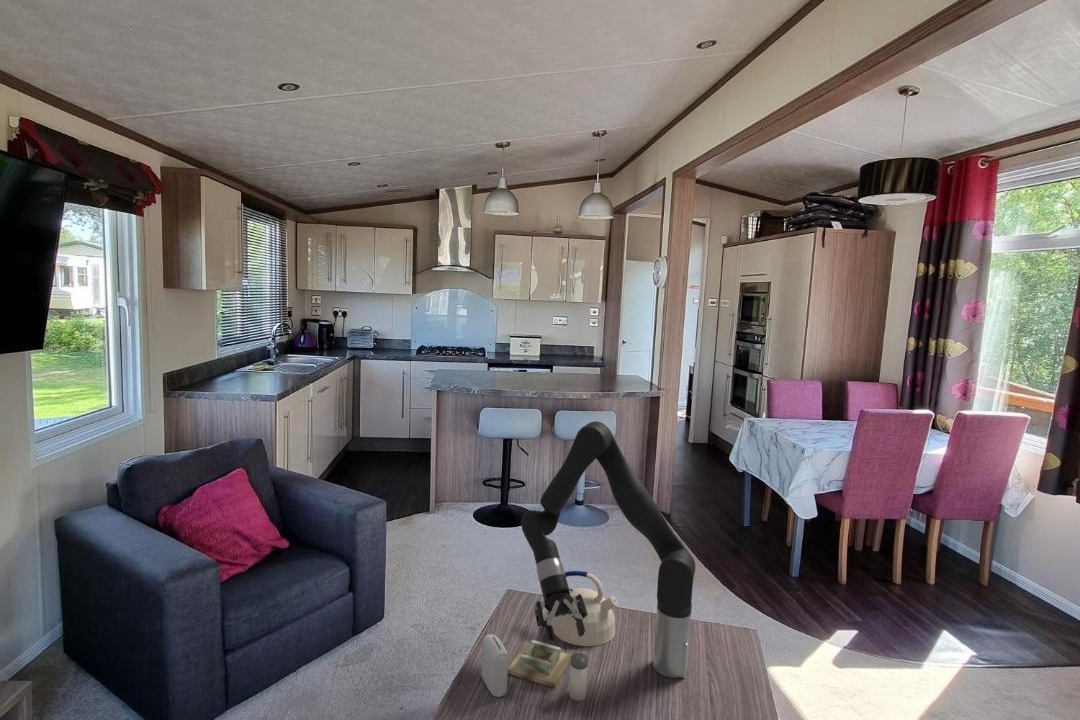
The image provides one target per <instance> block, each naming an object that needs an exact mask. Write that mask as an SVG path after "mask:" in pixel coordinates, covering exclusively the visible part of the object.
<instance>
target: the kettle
mask: <svg viewBox="0 0 1080 720" xmlns="http://www.w3.org/2000/svg"><path fill="white" fill-rule="evenodd" d="M564 572H565V576H566V578H567V577H584V578H587V579H589V580H591V581H592V583H594V584H595V586H596V590H597V591H595V589H591V588H587V587H586V588H585V587H583V588H582V587H579V588H574V589H572V588H569V592H570V595H571V596H572V597H574V596H577V595H579V594H581V595H582V598H583V601H584V604H585V607H586V610H587V613H588V615H587V616H586V617H585V618H583V624H584V628H585V633H584V635H583V636H581V637H579V635H578V631H577V627H576V621H575V620H574V619H573V618H572V617H570V616H569V615H568V614H566V615H564V616H562V615H560V616H558V617H555V616H554V618H553V620H552V622H551V626H552V627H553V631H554V636H555V637H557V639H560V640H561V641H563V642H565V643H568V644H570V645H574V646H578V647H597V646H601V645H604V644H606V643H607V642H610V641H611V640H612V639H613V638H614V636H615V634H616V623H615V621H616V619H615V614H614V611H613V609H614V608H616V607H617V606H618V600H617V598H616V597H615V596H614V595H610V596H609V597H608V598H605V597H604V587H603V584H602V583H601V581H600V579H599V578H597V576H596V575H594V574H593V573H590V572H588V571H582V570H569V571H564ZM572 606H573V607H574V608H576V609H577V612H578V613H579V611H578V608H577V605H576V604H575V603H574V602H572ZM570 611H571V610H570Z"/></svg>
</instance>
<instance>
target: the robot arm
mask: <svg viewBox="0 0 1080 720" xmlns="http://www.w3.org/2000/svg"><path fill="white" fill-rule="evenodd" d="M595 460H597V462H598V463H599V465H600V466H601V468H602V469H603V470H604V474H605V476H606V478H607V481H608V484H609V487H610V490H611V493H612V495H613V498H614V501H615V503H616V504H617V506H618V508H619V509H620V511H621V512H622V514H623V516H624V517H625V519H626V520H627V521H628V522H629V523H630V525H631V526H632V527H633V528H635V530H636V531H638V532H639V533H640V534H642V535H643V536H644V537H645V538H646V539H647V540H648V541H649V542H650V544H651V546H652V547H653V550H654V551H655V552H656V554H657V556H658V558H659V560H660V565H659V568H658V574H657V587H656V589H657V590H656V599H657V603H656V604H657V605H656V615H655V616H656V617H655V630H654V643H653V656H652V667H653V670H655V672H657V673H658V674H659V675H661V676H664V677H666V678H670V679H671V678H673V679H677V678H681V679H682V678H683V679H685V678H686V674H687V669H688V664H689V653H690V641H691V639H690V638H691V634H690V630H691V617H692V616H691V615H692V608H693V605H692V600H693V599H692V598H693V589H694V588H693V586H694V577H695V573H696V562H695V559H694V557H693V556H692V554H691V553H690V551H689V550H688V549H687V547H686V546H685V545H684V544H683V543H682V541H681V539H679V538H678V536H677V535H676V534H675V533H674V531H673V530H672V528H671V527H670V525H669V524H668V522H667V520H666V519H665V517H664V515H663V513H662V512H661V511H660V510H661V509H660V508H659V507H658V506H657V504H656V503H655V501H654V499H653V497H652V496H651V493H649V491H648V490H647V488H646V487H645V485H644V483H642V481H641V480H640V478H639V476H638V475H637V473H636V472H635V471H634V469H633V468H632V466H631V465H630V463H629V462H628V461H627V459H626V457H625V456H624V454H623V452H622V450H621V449H620V446H619V444H618V442H617V441H616V438H615V436H614V434H613V433H612V431H611V429H610V428H609V426H607V425H606V424H605V423H603V422H601V421H591V422H588V423H586V424H585V425H584V426H582V427H581V428H580V429H578V431H577V434H576V436H575V438H574V441H573V443H572V445H571V448H570V450H569V452H568V454H567V455H566V458H565V460H564V462H563V463H562V465H561V467H560V469H559V470H558V472H557V473H556V474H555V476H553V478H552V480H551V481H550V483H549V485H548V486H547V488H546V489H545V491H544V493H543V494H542V496H541V497H540V499H539V500H540V506H541V507H542V508H543V510H542V511H541V510H535V509H534V510H533V509H531V510H526V511H525V512H524V513H523V515H522V517H521V521H520V522H521V523H520V525H521V529H522V533H523V535H524V538H526V541H527V543H528V545H529V547H530V548H531V550H532V552H533V556H534V560H535V565H536V570H537V571H536V572H537V579H538V582H539V586H540V590H541V593H542V597H543V601H539V600H537V601H536V602H535V603H534V604H533V609H534V615H535V620H536V621H535V622H536V625H537V627H543V628H544V629H545V633H546V637H547V640H548V641H549V642H550V643H554V642H555V641H556V635H555V634H554V631H553V627H552V626H551V622H552V620H553V618H554V616H555V617H558V616H560V615H562V616H564V615H566V614H568V615H569V616H570V617H572V618H573V619H574V620H575V621H576V627H577V631H578V635H579V637H581V636H583V635H584V633H585V628H584V624H583V618H585V617H586V616H587V615H588V613H587V610H586V607H585V604H584V601H583V598H582V595H581V594H579V595H577V596H574V597H572V596H571V595H570V592H569V591H570V590H569V589H570V587H569V585H568V580H567V577H566V576H565V572H566V571H565V570H564V566H563V563H562V560H561V559H560V558H561V557H560V554H559V550H558V546H557V544H556V542H555V541H554V540H553V539H550V538H548V537H547V536H549V535H551V534H553V532H554V531H555V529H556V528H557V525H558V522H559V520H560V516H561V514H562V510H563V508H564V507H565V506H566V504H567V502H568V501H569V500H570V498H571V496H572V495H573V493H574V492H575V489H576V487H577V485H578V483H579V481H580V479H581V477H582V476H583V474H584V473H585V471H586V470H587V469H588V467H589V466H591V464H592V463H593V462H594V461H595ZM572 602H574V603H575V604H576V605H577V608H578V611H579V613H578V612H577V609H576V608H574V607H573V606H572ZM544 608H545V609H546V610H547V611H548V612H547V614H546V618H545V619H544V613H543V610H544ZM570 610H571V611H570Z"/></svg>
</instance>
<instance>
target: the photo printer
mask: <svg viewBox="0 0 1080 720" xmlns="http://www.w3.org/2000/svg"><path fill="white" fill-rule="evenodd" d="M481 644H482V647H481V668H480V669H481V670H480V671H481V674H480V675H481V678H482V680H483V683H484V684H485V686H486V687H487V689H488V691H489V692H490V693H491V695H492V696H493V697H496V698H501V697H503V696H505V695H506V693H507V692H508V675H509V674H508V667H509V655H508V654H509V653H508V651H507V650H506V648H505V645H504V644H503V642H502V641H501V640H500V639H499V637H497V635H495V634H492V633H490V634H486V635H485V636H484V638H483V639H482V643H481Z"/></svg>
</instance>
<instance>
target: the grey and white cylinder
mask: <svg viewBox="0 0 1080 720" xmlns="http://www.w3.org/2000/svg"><path fill="white" fill-rule="evenodd" d="M571 655H572V656H571V662H570V664H569V665H570V666H569V667H570V668H569V684H568V696H569V698H570V699H571V700H574V701H578V702H581V701H583V700H585V699H586V696H587V684H588V683H587V682H588V668H589V667H588V666H589V657H588V656H587V655H586V654H584V653H583V652H582V653H581V652H575V653H573V654H571Z"/></svg>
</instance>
